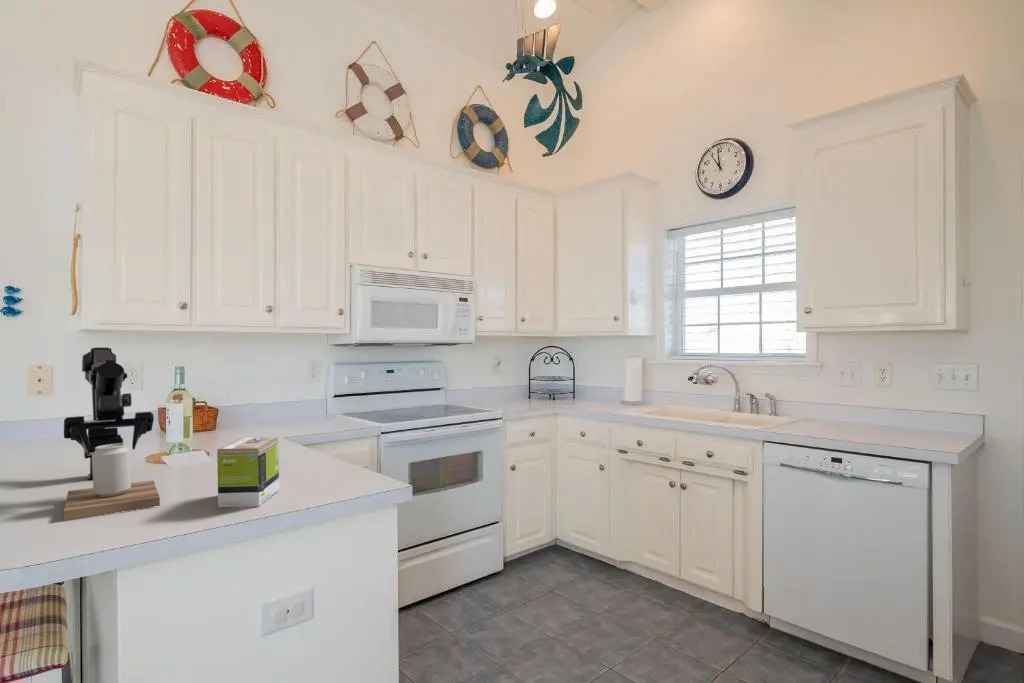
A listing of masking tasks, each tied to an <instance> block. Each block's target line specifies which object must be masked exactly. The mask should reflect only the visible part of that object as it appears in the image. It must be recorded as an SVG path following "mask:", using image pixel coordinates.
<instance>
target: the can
mask: <svg viewBox="0 0 1024 683" xmlns="http://www.w3.org/2000/svg"><path fill="white" fill-rule="evenodd" d="M126 445H127V443H124V442H123V443H118V444H108V445H102V446H98V447H96V448H95V449H96V450H95V451H94V453H93V454H92V469H93V479H92V488H93V492H94V494H96V495H98V496H99V497H108V496H115V495H119V494H123V493H125V492H127V490H128V489H130V487H131V483H132V480H131V461H130V460H131V458H130V456H131V455H130V453H131V452H130V449H129V448H128V447H127V446H126Z"/></svg>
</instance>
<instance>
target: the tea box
mask: <svg viewBox="0 0 1024 683" xmlns="http://www.w3.org/2000/svg"><path fill="white" fill-rule="evenodd" d="M279 449H280V448H279V436H257V437H256V436H255V437H254V436H253V437H241V438H238V439H236V440H234V441H232V442H230V443H227V444H225V445H224V446H222V447H219V448H217V450H216V451H217V453H216V454H217V456H216V458H217V459H216V460H217V461H216V462H217V471H216V472H217V507H218V508H219V507H232V508H257V507H260V506H261V505H262V504H263V503H265V502H266V501H267V500H268V499H270V498H271V497H272V496H273V495H274V494H276V493H277V492H278V491H280V459H279V458H280V455H279V454H280V452H279V451H280V450H279Z"/></svg>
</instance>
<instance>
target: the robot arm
mask: <svg viewBox="0 0 1024 683" xmlns="http://www.w3.org/2000/svg"><path fill="white" fill-rule="evenodd" d="M81 359H82V360H81V371H82V372H83V373H84V379H85V380H86V381H87V382H88V383H89V385H90V386H91V398H92V399H91V400H92V401H91V402H92V420H85V416H84V415H82V416H81V415H79V416H78V415H77V416H67V417H64V418H65V419H64V420H63V438H64V439H70V440H71V441H76V442H77V443H78V444H79V445H80V446H81V447H82V449H83V457H84V459H85V460H86V459H89V474H88V475H87V480H92V481H93V469H92V454H93V453H94V451H95V450H96V449H95V448H96V447H98V446H102V445H108V444H118V443H123V444H124V439H123V437H122V436H121V434H119V432H118V431H119V430H118V428H119V429H120V428H129V427H133V432H132V444H131V445H132V446H131V447H132V450H133V451H134V450H136V447H137V444H138V443H139V442H138V441H139V440H140V438H141V437H142V435H145V434H146V433H147V432H151V431H152V430H153V424H154V419H155V418H154V417H155V416H154V413H152V411H139V412H135V413H134V418H133V417H132V418H124V416H125V408H126V407H127V408H128V407H131V406H132V394H131V393H130V392H129V393H122V392H121V389H122V387H123V382H125V381H126V379H128V373H126V371H125V369H124V367H123V366H122V365H120V364H119V363H117V355H116V354H115V353H114V352H113V351H112V348H111V347H105V346H104V347H101V346H100V347H93V348H92V347H91V348H90V351H89V352H87V353H85V354H83V355H82V358H81Z"/></svg>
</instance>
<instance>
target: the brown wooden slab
mask: <svg viewBox="0 0 1024 683" xmlns="http://www.w3.org/2000/svg"><path fill="white" fill-rule="evenodd" d="M160 499H161V497H160V494H159V492H158V489H157V486H156V484H155V481H154V479H153V480H151V479H150V480H143V481H137V482H131V487H130V489H128V490H127V492H125V493H123V494H119V495H115V496H108V497H99V496H98V495H96V494H94V492H93V487H89V488H81V489H71V490H68V491H67V495H66V500H65V505H64V510H63V521H64V522H66V521H67V520H68V521H73V520H74V519H75V520H80V519H81V518H82V519H88V518H93V517H92V516H95V517H99V516H98V515H101V516H105V515H104V514H108V515H111V514H110V513H115V512H121V513H123V512H122V511H128V512H130V511H129V510H134V511H137V510H136V509H141V510H144V509H143V508H148V509H150V508H149V507H154V506H160V505H161V504H160V503H161V502H160V501H161V500H160ZM160 507H161V506H160ZM154 508H155V507H154ZM115 514H116V513H115ZM87 517H88V518H87ZM68 521H67V522H68Z"/></svg>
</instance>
